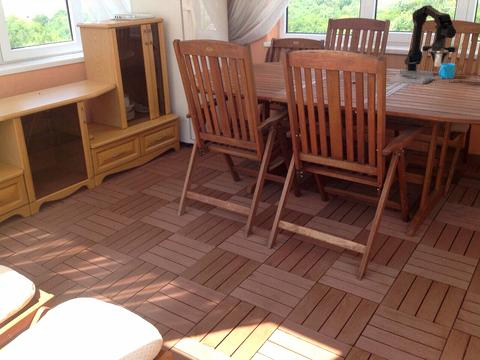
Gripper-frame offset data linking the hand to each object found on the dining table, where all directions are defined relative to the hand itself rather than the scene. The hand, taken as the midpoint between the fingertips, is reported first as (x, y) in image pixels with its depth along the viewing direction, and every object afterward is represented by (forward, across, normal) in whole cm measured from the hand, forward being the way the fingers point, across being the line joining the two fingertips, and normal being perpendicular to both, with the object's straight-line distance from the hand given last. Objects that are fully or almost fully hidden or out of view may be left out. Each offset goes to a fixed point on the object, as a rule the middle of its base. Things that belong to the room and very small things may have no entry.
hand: (438, 63), depth 297 cm
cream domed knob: (+2, 0, 0) cm, 2 cm away
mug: (+11, +1, +14) cm, 18 cm away
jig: (+11, -14, -3) cm, 18 cm away
